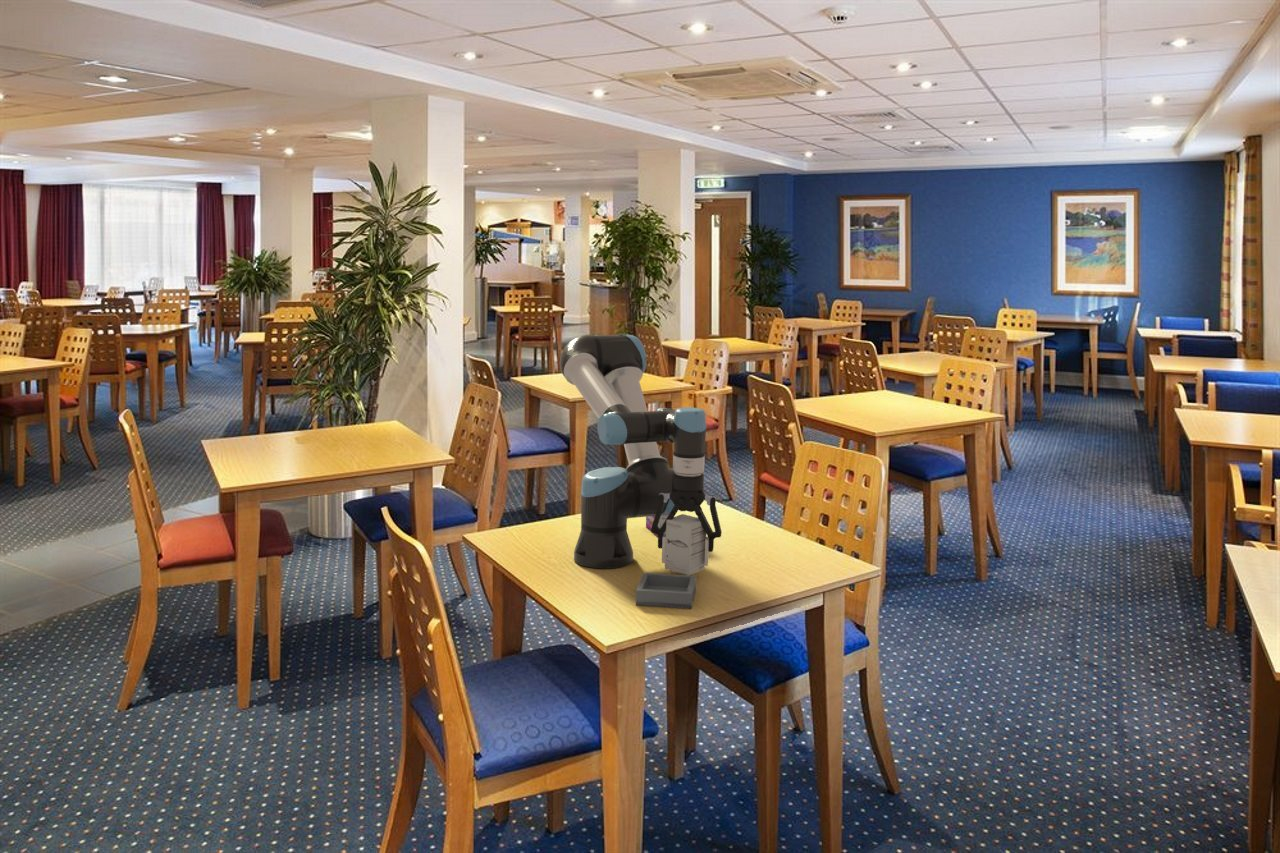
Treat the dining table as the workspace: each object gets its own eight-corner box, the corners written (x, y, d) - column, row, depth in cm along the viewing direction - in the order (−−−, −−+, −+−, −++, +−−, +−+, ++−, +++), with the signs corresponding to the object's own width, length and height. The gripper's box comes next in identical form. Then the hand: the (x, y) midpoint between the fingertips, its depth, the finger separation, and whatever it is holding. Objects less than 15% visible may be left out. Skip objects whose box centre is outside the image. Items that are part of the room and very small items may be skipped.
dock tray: (635, 605, 209) (635, 590, 208) (643, 587, 221) (643, 572, 220) (691, 609, 207) (691, 593, 206) (695, 590, 219) (696, 575, 219)
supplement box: (663, 569, 228) (665, 519, 225) (681, 562, 233) (683, 513, 231) (688, 576, 223) (690, 525, 221) (706, 568, 229) (708, 518, 227)
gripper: (639, 473, 222) (637, 564, 226) (734, 479, 219) (730, 570, 223) (644, 466, 229) (641, 554, 233) (735, 471, 226) (731, 560, 230)
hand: (685, 562), depth 228 cm, fingers closed on supplement box, 10 cm apart
